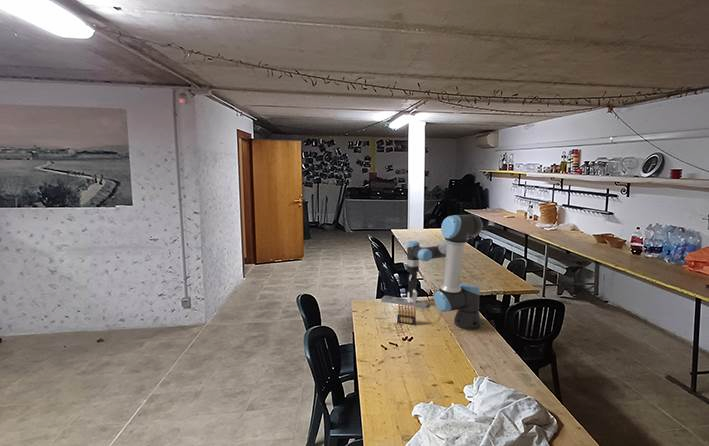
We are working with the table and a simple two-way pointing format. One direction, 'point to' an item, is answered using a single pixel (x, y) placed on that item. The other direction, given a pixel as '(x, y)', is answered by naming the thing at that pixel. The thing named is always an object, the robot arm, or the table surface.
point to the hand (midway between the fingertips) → (412, 300)
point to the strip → (404, 301)
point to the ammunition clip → (406, 315)
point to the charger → (413, 297)
